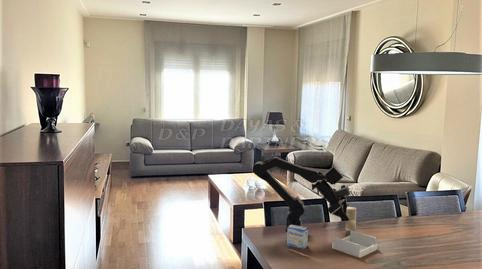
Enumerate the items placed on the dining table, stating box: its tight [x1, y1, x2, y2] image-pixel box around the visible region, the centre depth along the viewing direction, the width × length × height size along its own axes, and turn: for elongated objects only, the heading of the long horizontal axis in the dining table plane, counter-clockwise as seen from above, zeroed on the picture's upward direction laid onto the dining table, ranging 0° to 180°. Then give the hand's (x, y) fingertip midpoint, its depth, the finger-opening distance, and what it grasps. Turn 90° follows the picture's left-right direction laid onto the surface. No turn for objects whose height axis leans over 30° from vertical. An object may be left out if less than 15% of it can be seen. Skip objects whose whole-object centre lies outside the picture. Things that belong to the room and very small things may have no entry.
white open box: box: [331, 230, 378, 259], centre depth 172 cm, size 13×13×6 cm
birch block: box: [344, 206, 357, 237], centre depth 189 cm, size 4×4×13 cm
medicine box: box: [286, 225, 309, 249], centre depth 175 cm, size 8×4×9 cm, turn 62°
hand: (349, 217), depth 189 cm, fingers open, 9 cm apart
